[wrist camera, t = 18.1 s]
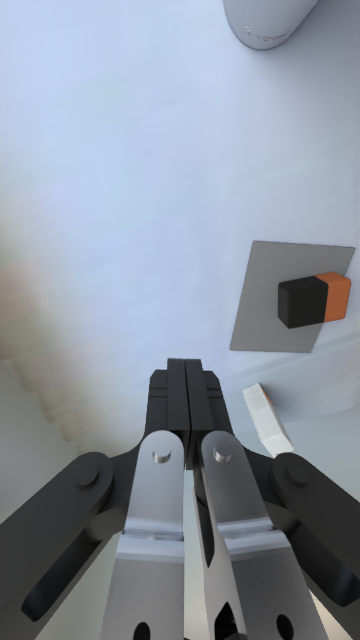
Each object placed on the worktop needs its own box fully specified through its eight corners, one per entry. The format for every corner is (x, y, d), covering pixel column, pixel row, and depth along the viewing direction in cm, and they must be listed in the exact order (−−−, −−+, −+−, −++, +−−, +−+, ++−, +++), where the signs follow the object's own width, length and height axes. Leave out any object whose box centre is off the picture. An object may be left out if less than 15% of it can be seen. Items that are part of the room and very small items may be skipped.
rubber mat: (252, 240, 34) (254, 241, 34) (353, 247, 35) (355, 248, 35) (229, 348, 44) (230, 350, 43) (308, 351, 45) (310, 352, 44)
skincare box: (269, 397, 51) (296, 450, 40) (252, 405, 52) (273, 458, 41) (258, 381, 48) (283, 433, 38) (240, 390, 49) (260, 442, 39)
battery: (288, 330, 36) (351, 318, 36) (289, 292, 33) (359, 278, 33) (276, 317, 40) (334, 306, 40) (277, 282, 37) (339, 269, 36)
